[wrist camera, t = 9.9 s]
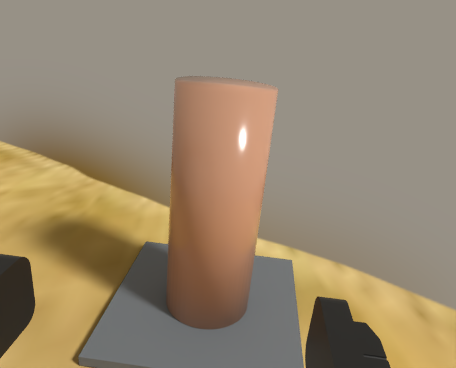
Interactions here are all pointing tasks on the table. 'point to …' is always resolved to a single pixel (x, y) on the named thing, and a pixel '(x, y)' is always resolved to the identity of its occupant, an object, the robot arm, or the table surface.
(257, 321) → the rubber mat
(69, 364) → the table surface
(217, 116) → the terracotta canister
